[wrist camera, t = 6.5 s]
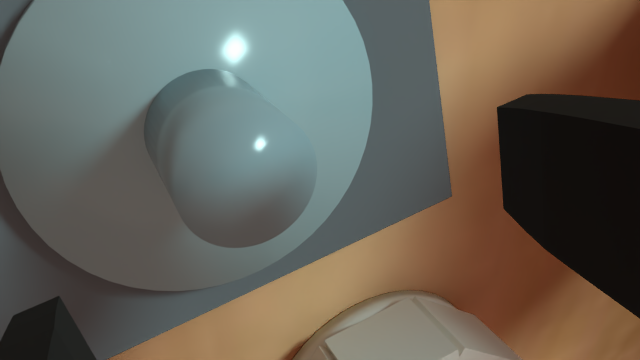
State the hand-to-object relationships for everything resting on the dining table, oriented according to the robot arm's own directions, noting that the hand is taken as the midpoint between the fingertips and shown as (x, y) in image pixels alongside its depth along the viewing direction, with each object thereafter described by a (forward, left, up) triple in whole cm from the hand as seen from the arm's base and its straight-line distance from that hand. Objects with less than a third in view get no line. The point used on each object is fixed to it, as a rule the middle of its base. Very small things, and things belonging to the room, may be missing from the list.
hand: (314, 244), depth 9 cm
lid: (0, 0, -7) cm, 7 cm away
